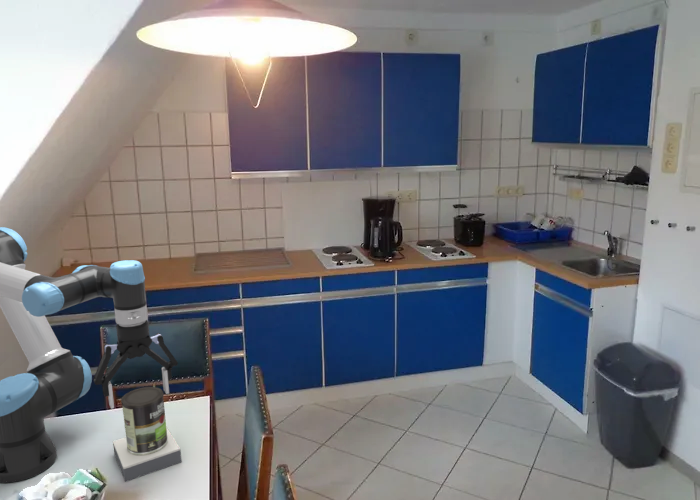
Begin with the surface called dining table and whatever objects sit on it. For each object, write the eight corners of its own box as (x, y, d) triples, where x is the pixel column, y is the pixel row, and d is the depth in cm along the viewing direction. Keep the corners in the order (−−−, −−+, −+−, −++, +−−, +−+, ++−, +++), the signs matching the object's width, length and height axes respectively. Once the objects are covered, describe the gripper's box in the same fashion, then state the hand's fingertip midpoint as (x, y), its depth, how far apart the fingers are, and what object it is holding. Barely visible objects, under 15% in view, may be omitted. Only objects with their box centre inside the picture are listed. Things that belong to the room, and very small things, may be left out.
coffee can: (175, 435, 143) (170, 388, 140) (154, 457, 133) (149, 407, 130) (141, 431, 145) (136, 385, 142) (118, 453, 136) (112, 403, 132)
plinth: (114, 454, 142) (112, 441, 141) (166, 437, 149) (165, 424, 149) (125, 481, 130) (123, 467, 130) (181, 461, 138) (180, 448, 137)
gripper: (79, 337, 122) (89, 419, 127) (186, 316, 135) (191, 391, 140) (74, 327, 128) (84, 406, 133) (177, 308, 142) (183, 380, 146)
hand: (139, 398), depth 136 cm, fingers open, 13 cm apart
